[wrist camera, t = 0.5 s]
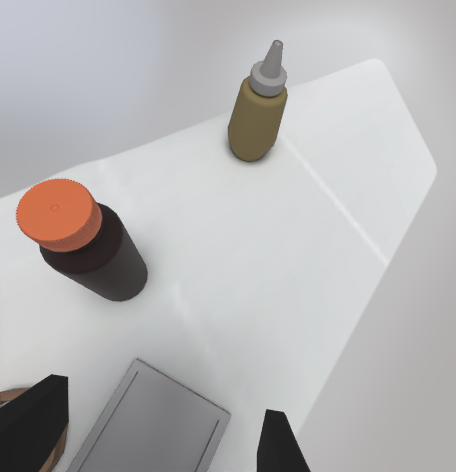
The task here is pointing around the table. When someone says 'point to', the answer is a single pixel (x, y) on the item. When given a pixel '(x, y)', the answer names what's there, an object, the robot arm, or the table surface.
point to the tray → (152, 428)
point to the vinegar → (82, 239)
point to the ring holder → (59, 448)
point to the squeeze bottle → (259, 107)
